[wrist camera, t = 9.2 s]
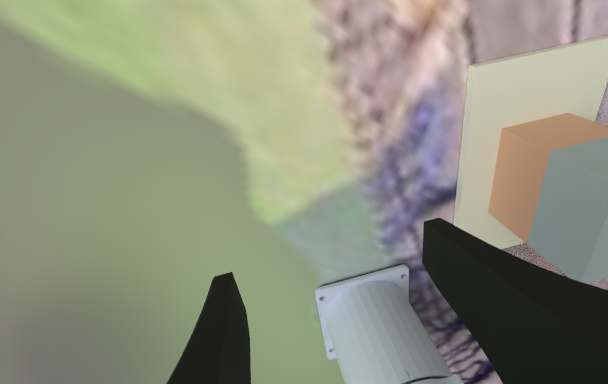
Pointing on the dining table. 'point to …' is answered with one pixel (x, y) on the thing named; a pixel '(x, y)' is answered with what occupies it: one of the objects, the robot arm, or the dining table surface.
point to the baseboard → (519, 117)
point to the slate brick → (574, 212)
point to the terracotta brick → (532, 165)
